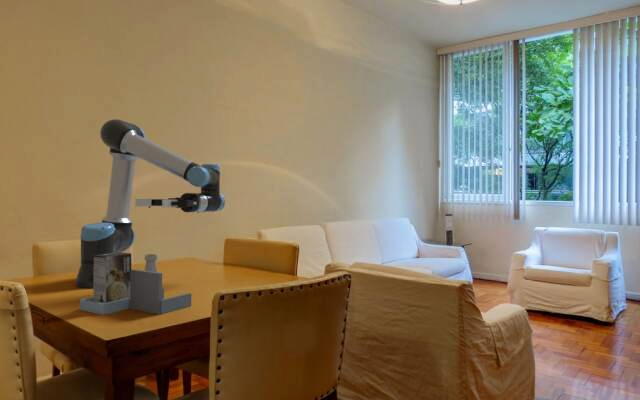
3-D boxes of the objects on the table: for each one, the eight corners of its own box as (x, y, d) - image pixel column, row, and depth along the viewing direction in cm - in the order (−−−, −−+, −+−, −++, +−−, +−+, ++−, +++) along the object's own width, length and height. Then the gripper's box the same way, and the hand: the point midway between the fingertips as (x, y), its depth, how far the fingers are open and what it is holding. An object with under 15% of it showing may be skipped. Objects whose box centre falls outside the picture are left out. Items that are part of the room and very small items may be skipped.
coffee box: (119, 301, 149) (119, 251, 149) (132, 304, 146) (132, 253, 146) (92, 307, 141) (92, 254, 141) (105, 310, 138) (106, 256, 138)
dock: (129, 308, 143) (129, 269, 143) (161, 300, 154) (161, 264, 154) (159, 314, 136) (160, 273, 136) (191, 305, 147) (191, 268, 147)
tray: (79, 309, 141) (79, 299, 141) (118, 301, 153) (118, 291, 153) (103, 314, 136) (103, 304, 135) (141, 305, 147) (141, 295, 147)
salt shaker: (161, 289, 172) (162, 254, 172) (147, 292, 168) (147, 255, 167) (154, 287, 176) (154, 253, 176) (139, 289, 172) (139, 254, 171)
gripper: (217, 213, 177) (174, 214, 158) (170, 211, 189) (125, 212, 170) (217, 193, 177) (174, 192, 158) (170, 192, 189) (125, 192, 170)
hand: (149, 203), depth 164 cm, fingers open, 13 cm apart
